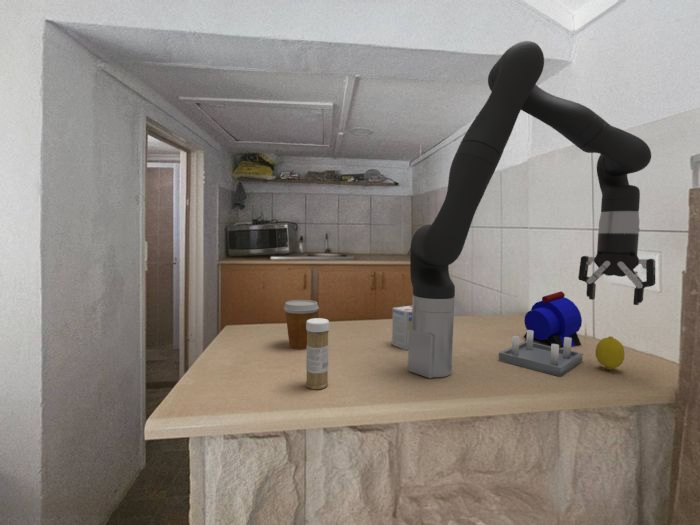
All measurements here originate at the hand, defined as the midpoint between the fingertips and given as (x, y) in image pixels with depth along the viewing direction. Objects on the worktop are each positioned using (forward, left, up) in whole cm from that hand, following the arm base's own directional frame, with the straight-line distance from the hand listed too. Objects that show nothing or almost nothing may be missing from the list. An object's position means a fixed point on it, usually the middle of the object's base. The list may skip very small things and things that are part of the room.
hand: (613, 301), depth 85 cm
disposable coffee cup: (-45, +61, -16) cm, 78 cm away
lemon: (0, 0, -16) cm, 16 cm away
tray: (-6, +13, -16) cm, 22 cm away
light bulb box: (-20, +42, -16) cm, 49 cm away
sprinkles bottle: (-58, +37, -16) cm, 71 cm away
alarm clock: (+15, +18, -17) cm, 29 cm away
